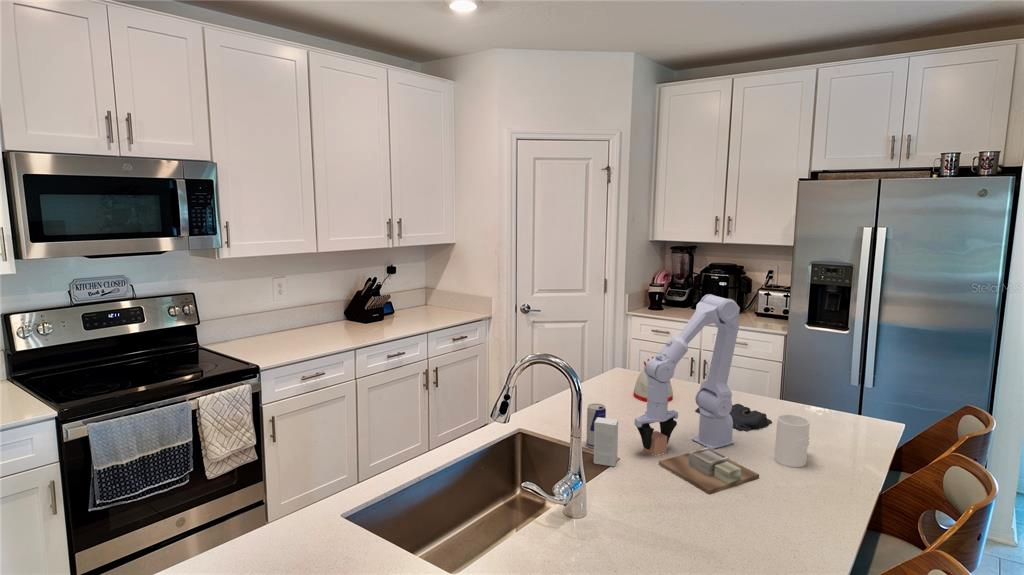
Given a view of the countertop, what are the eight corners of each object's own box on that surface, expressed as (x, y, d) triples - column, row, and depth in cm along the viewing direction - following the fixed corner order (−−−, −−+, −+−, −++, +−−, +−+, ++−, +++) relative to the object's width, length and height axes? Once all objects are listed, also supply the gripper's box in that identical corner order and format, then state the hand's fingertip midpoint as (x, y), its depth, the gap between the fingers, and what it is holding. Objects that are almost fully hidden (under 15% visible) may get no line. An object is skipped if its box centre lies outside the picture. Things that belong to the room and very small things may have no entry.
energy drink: (604, 450, 168) (605, 410, 166) (585, 448, 169) (586, 409, 167) (605, 442, 173) (606, 404, 171) (587, 441, 174) (588, 402, 172)
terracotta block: (655, 447, 171) (656, 430, 170) (666, 452, 167) (667, 436, 166) (643, 450, 169) (644, 433, 168) (654, 456, 165) (655, 439, 164)
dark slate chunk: (722, 404, 207) (722, 391, 206) (776, 425, 188) (777, 411, 187) (690, 412, 200) (691, 398, 199) (744, 435, 181) (745, 420, 180)
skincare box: (617, 460, 162) (619, 419, 160) (615, 467, 158) (616, 425, 156) (595, 457, 164) (597, 416, 162) (592, 463, 160) (594, 422, 158)
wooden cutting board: (706, 451, 168) (707, 436, 167) (759, 478, 152) (760, 461, 151) (658, 464, 159) (659, 448, 158) (708, 494, 144) (710, 476, 143)
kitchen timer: (665, 406, 204) (667, 364, 202) (627, 398, 211) (629, 358, 209) (677, 395, 215) (679, 355, 213) (641, 388, 223) (643, 350, 221)
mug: (819, 459, 163) (823, 418, 161) (797, 470, 156) (801, 428, 154) (791, 448, 170) (794, 409, 168) (768, 459, 163) (771, 418, 161)
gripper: (667, 392, 172) (664, 436, 174) (628, 400, 165) (626, 445, 167) (684, 399, 166) (681, 444, 168) (644, 408, 159) (642, 455, 161)
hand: (655, 445), depth 167 cm, fingers open, 6 cm apart
